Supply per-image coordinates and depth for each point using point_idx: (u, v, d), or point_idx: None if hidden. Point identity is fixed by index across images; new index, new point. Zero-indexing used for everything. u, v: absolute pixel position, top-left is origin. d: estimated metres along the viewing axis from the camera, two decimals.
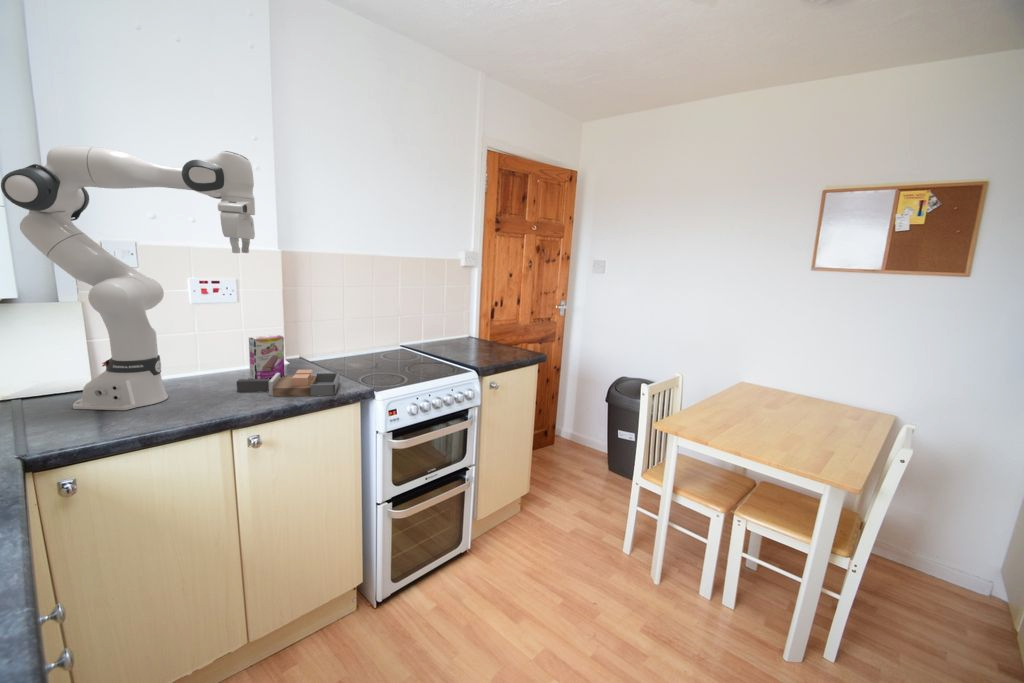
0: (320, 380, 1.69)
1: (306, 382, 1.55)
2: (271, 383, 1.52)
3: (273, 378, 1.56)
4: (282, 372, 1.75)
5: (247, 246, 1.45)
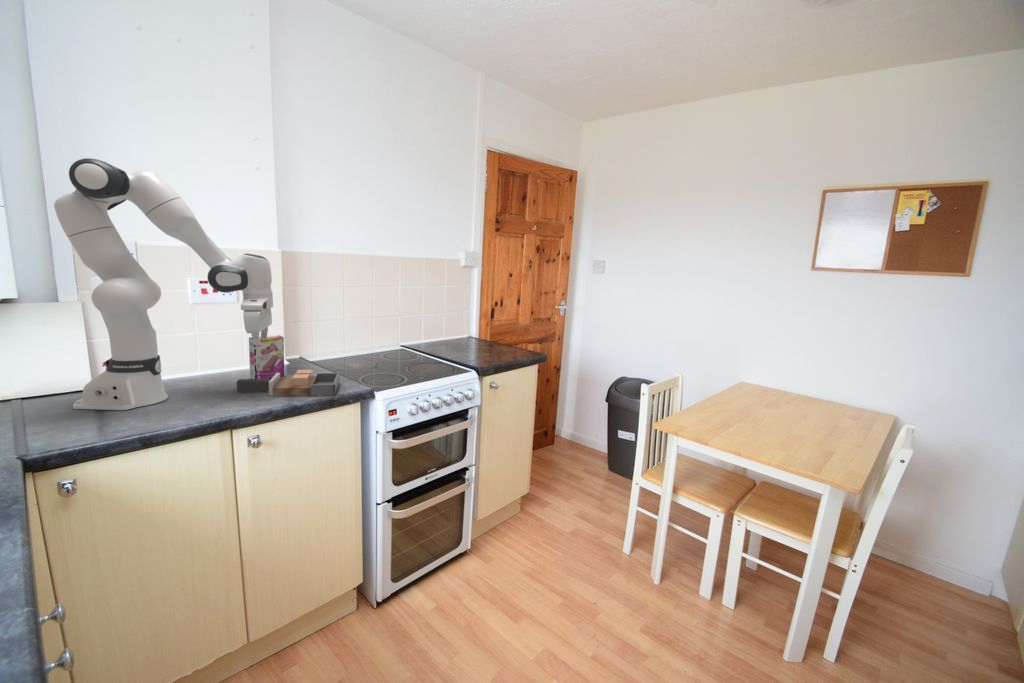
0: (320, 380, 1.69)
1: (306, 382, 1.55)
2: (271, 383, 1.52)
3: (273, 378, 1.56)
4: (282, 372, 1.75)
5: (266, 333, 1.59)
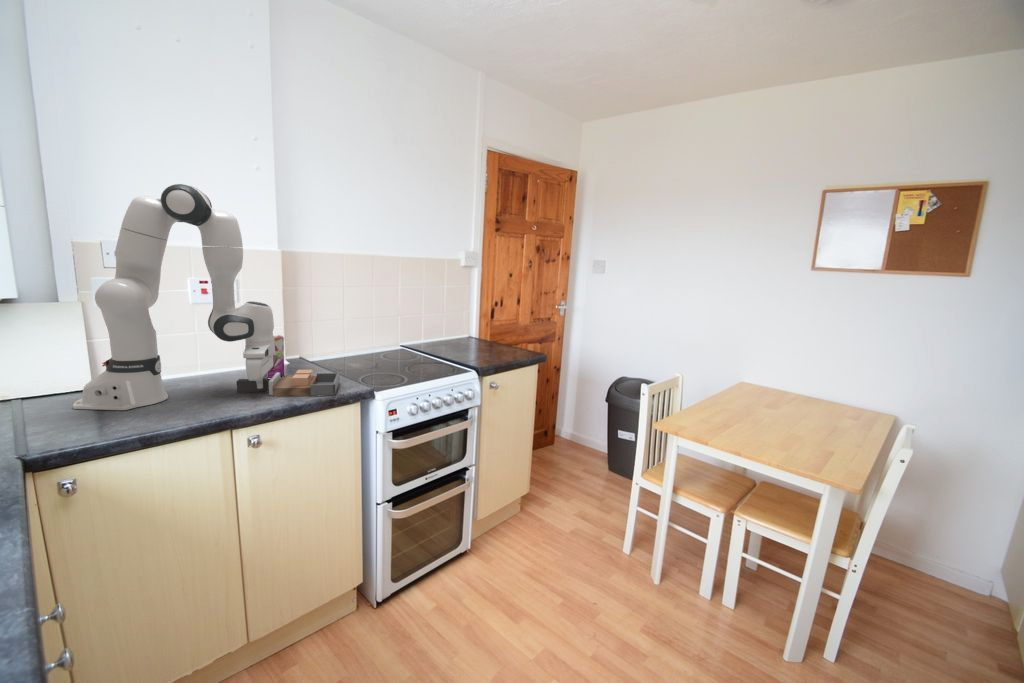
0: (320, 380, 1.69)
1: (306, 382, 1.55)
2: (271, 383, 1.52)
3: (273, 378, 1.56)
4: (282, 372, 1.75)
5: (265, 378, 1.59)
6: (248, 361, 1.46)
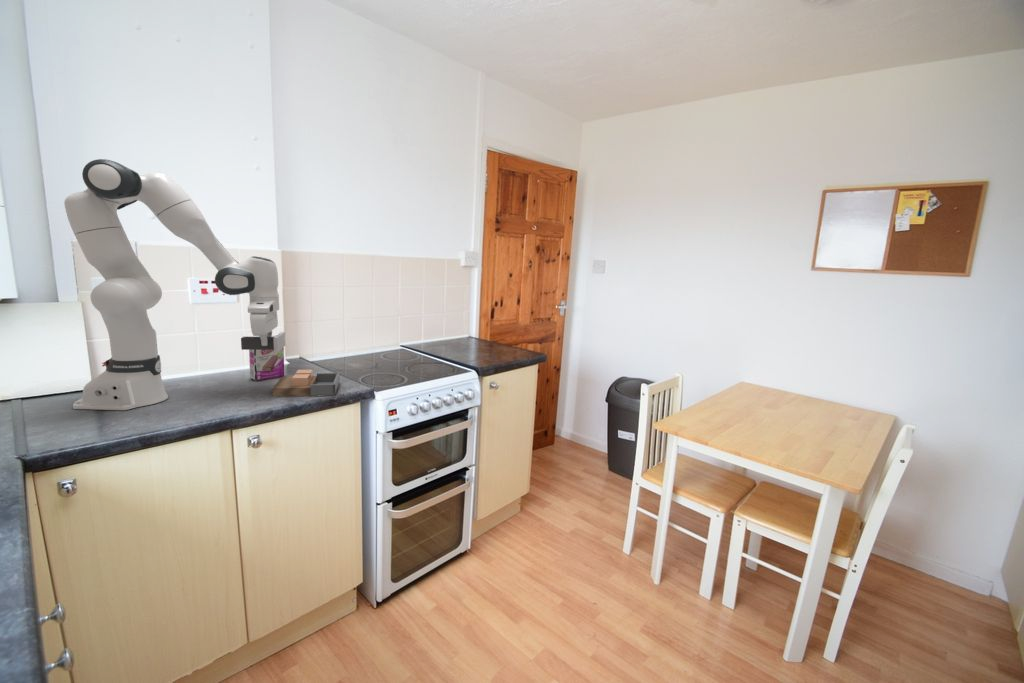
0: (320, 380, 1.69)
1: (306, 382, 1.55)
2: (276, 339, 1.50)
3: (278, 335, 1.54)
4: (282, 372, 1.75)
5: (270, 336, 1.57)
6: (252, 315, 1.44)
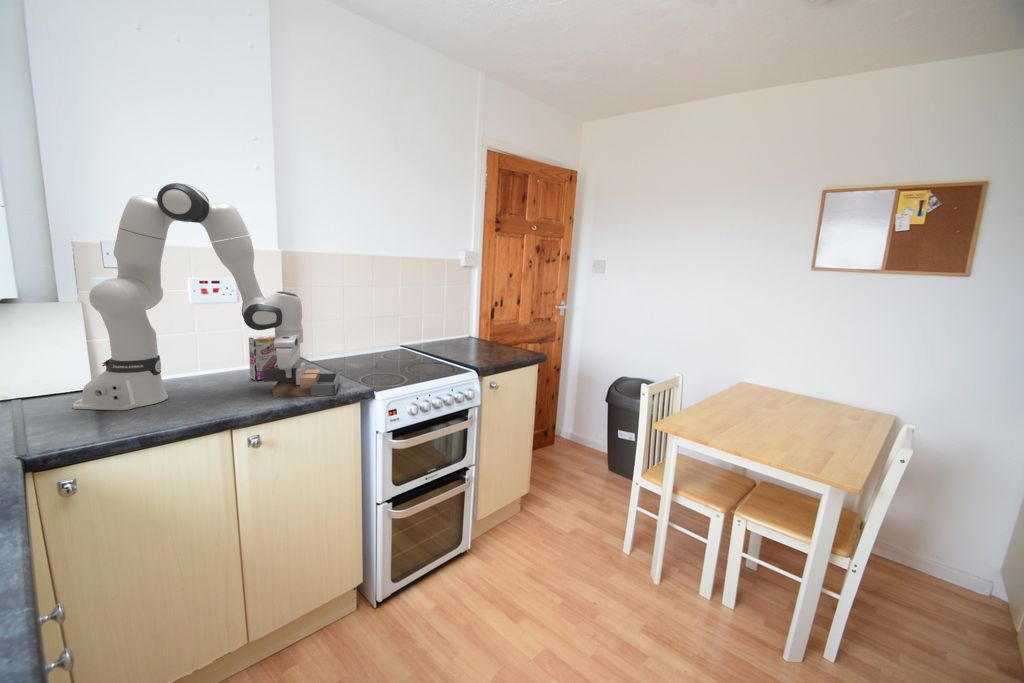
0: (320, 380, 1.69)
1: (314, 382, 1.56)
2: (298, 372, 1.54)
3: (299, 367, 1.58)
4: None
5: (293, 367, 1.61)
6: (279, 350, 1.48)
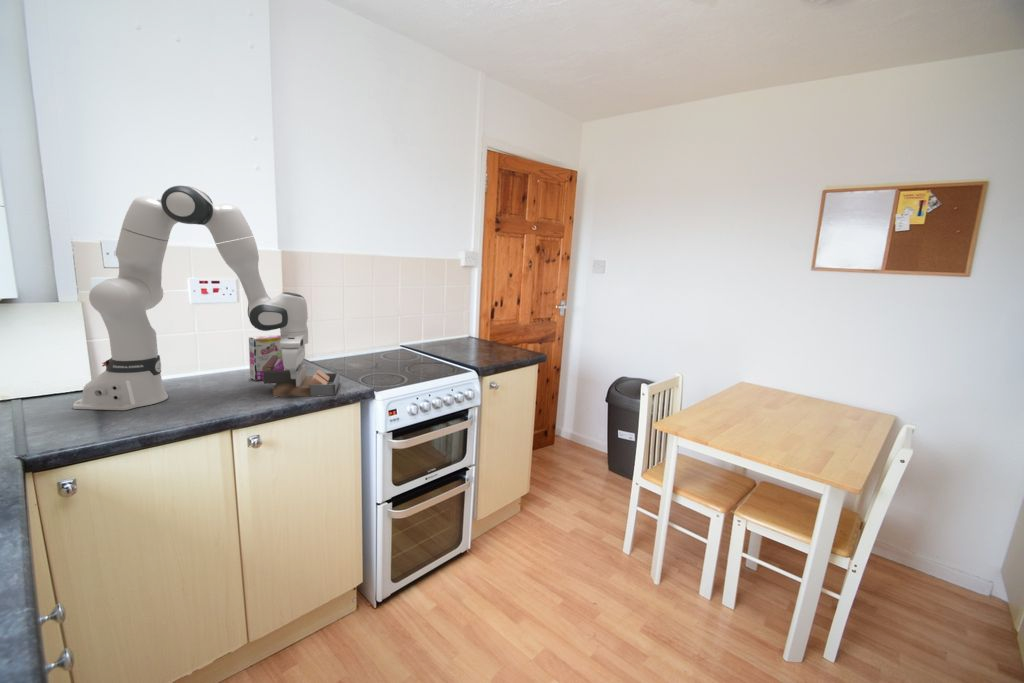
0: None
1: None
2: (298, 374, 1.54)
3: (299, 369, 1.58)
4: None
5: None
6: (284, 350, 1.48)
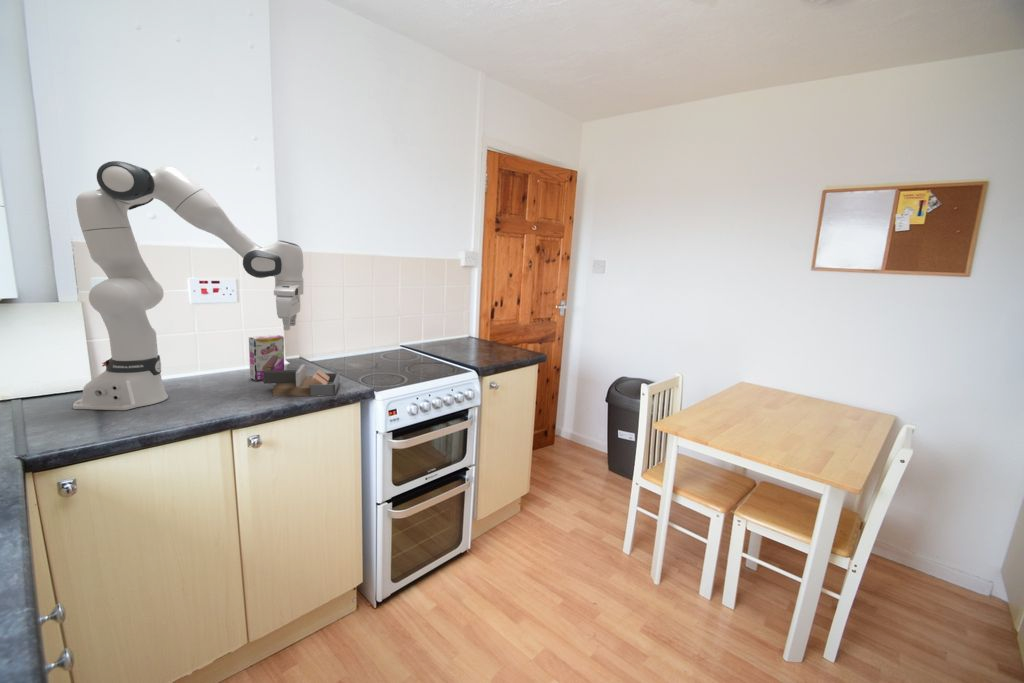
0: None
1: None
2: (298, 374, 1.54)
3: (299, 369, 1.58)
4: None
5: (294, 319, 1.61)
6: (278, 298, 1.46)
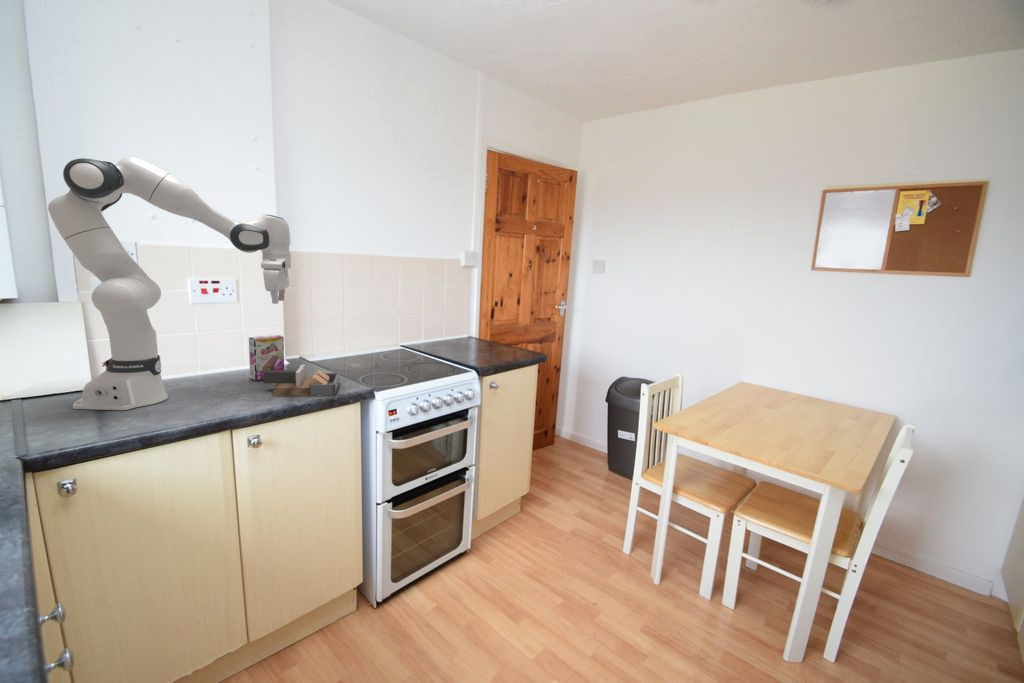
0: None
1: None
2: (298, 374, 1.54)
3: (299, 369, 1.58)
4: None
5: (283, 294, 1.63)
6: (266, 271, 1.48)
